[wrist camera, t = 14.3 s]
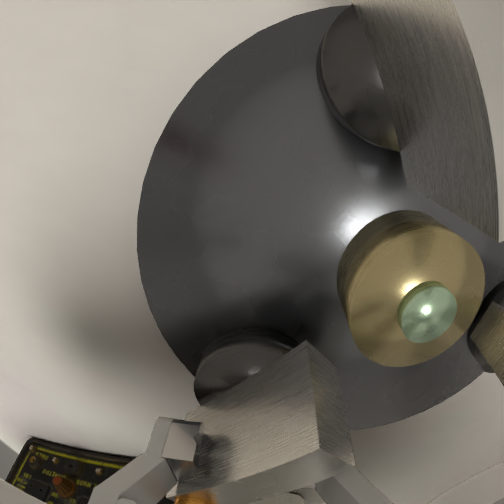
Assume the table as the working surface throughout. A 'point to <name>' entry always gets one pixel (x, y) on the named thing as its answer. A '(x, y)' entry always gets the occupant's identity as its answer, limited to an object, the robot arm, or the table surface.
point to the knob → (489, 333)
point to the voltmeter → (63, 472)
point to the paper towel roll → (282, 499)
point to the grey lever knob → (426, 95)
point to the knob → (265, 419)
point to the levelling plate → (307, 234)
